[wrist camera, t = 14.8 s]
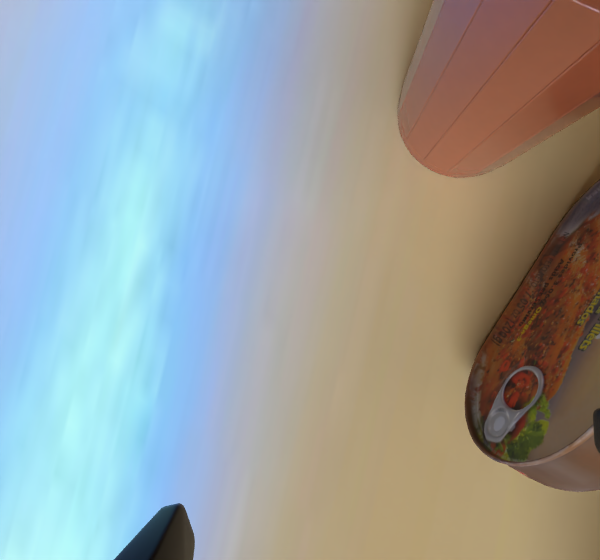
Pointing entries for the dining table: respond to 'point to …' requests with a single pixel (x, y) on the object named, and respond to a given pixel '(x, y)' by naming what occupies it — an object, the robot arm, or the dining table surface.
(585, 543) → the dining table surface
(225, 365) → the dining table surface
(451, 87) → the pot
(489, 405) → the tin
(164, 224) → the dining table surface
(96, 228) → the dining table surface
